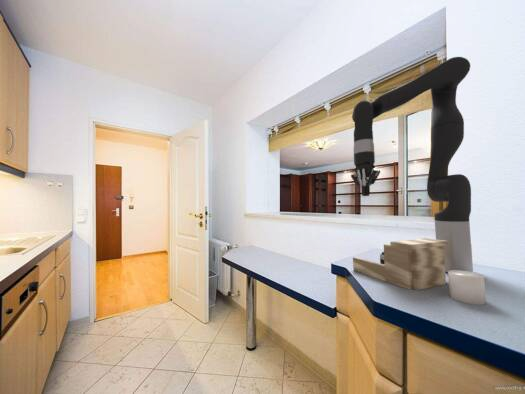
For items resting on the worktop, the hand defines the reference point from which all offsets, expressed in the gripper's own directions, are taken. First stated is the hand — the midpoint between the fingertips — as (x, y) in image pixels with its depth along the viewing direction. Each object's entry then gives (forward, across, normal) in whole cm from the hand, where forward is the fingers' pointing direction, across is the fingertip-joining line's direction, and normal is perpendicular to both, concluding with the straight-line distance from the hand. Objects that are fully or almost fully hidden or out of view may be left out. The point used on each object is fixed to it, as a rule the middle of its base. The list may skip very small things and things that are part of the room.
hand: (365, 195), depth 86 cm
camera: (+27, -16, +4) cm, 32 cm away
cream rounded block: (+27, -33, +4) cm, 43 cm away
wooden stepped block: (+27, -14, +3) cm, 30 cm away
